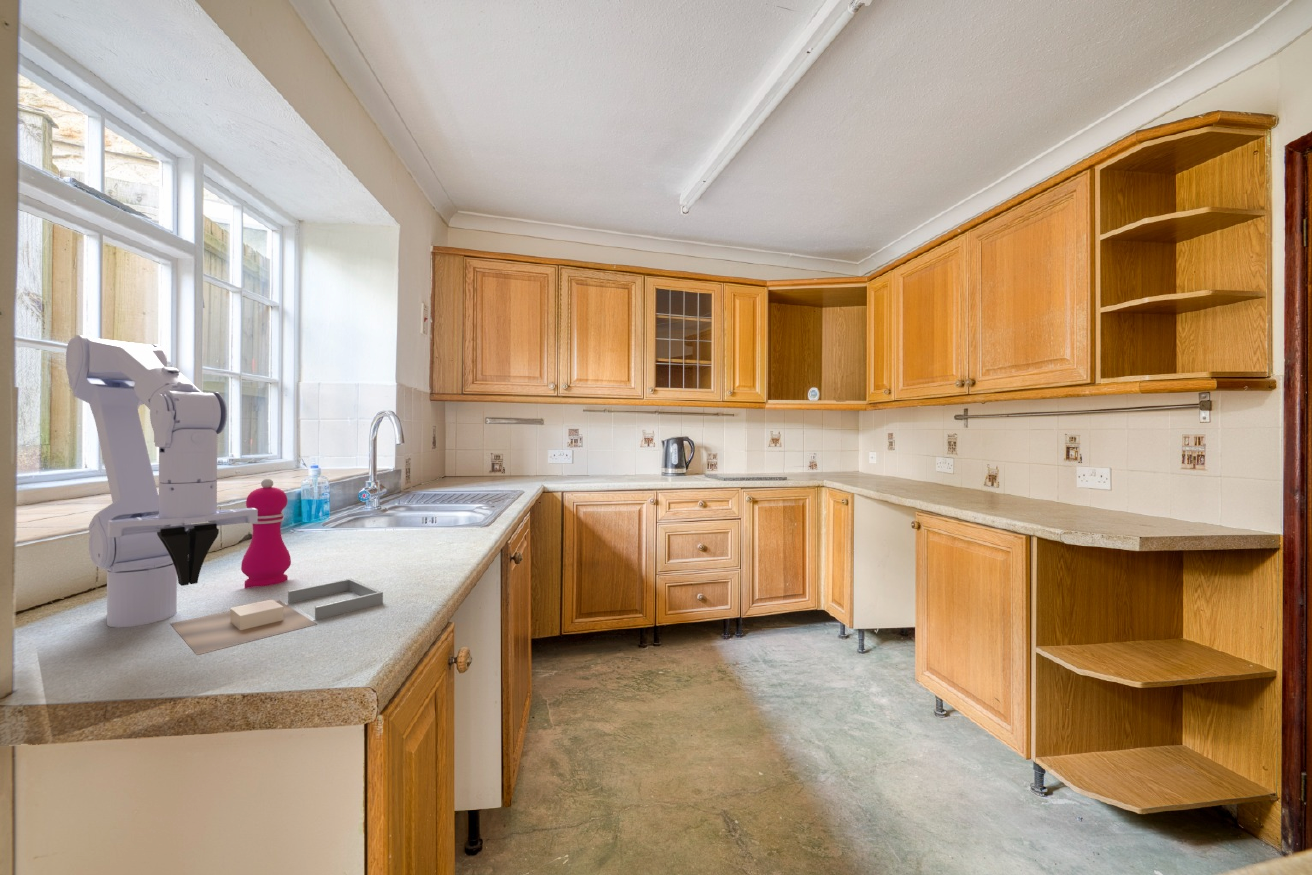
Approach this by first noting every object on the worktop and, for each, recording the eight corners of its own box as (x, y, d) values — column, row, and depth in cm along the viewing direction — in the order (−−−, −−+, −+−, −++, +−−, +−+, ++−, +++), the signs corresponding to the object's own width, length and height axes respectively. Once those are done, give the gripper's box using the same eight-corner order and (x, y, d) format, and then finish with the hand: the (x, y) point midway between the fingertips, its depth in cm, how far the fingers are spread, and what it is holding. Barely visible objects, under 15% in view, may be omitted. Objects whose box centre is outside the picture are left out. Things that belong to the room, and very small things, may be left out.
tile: (230, 621, 73) (230, 607, 73) (271, 612, 77) (272, 599, 77) (240, 630, 70) (240, 615, 70) (283, 620, 74) (283, 606, 74)
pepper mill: (250, 596, 88) (251, 481, 88) (234, 589, 92) (235, 478, 91) (297, 586, 94) (298, 478, 94) (280, 579, 98) (281, 476, 98)
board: (170, 631, 72) (170, 623, 72) (279, 607, 83) (279, 600, 83) (196, 664, 63) (197, 654, 63) (317, 632, 73) (317, 624, 73)
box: (283, 610, 81) (283, 591, 81) (351, 595, 89) (351, 578, 89) (311, 629, 74) (312, 608, 74) (382, 610, 82) (382, 592, 82)
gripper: (113, 488, 59) (113, 603, 60) (264, 480, 71) (263, 576, 71) (105, 483, 64) (105, 591, 64) (249, 476, 75) (248, 568, 75)
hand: (188, 583), depth 68 cm, fingers closed
